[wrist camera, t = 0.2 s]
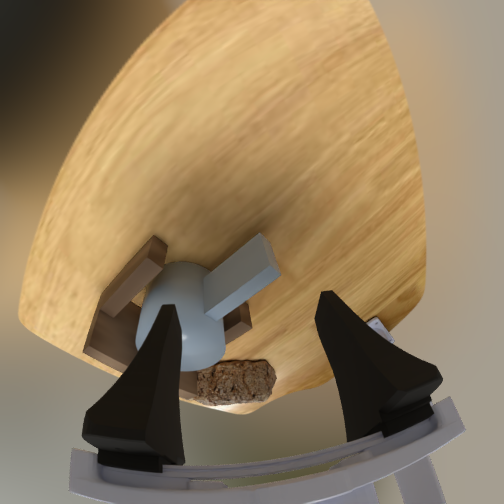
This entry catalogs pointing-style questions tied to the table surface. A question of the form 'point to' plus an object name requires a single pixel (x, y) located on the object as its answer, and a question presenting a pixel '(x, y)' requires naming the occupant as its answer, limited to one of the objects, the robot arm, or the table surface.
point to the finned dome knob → (207, 299)
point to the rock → (235, 383)
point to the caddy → (128, 314)
